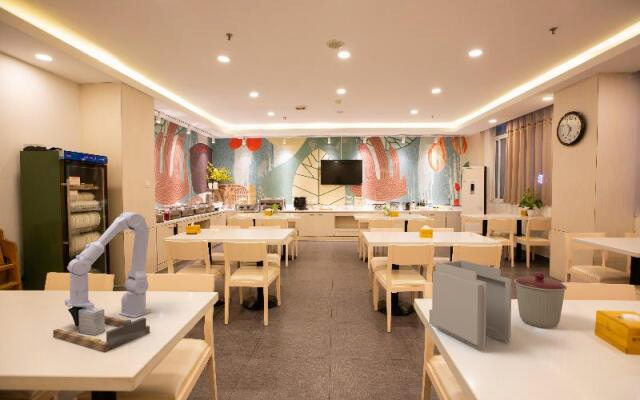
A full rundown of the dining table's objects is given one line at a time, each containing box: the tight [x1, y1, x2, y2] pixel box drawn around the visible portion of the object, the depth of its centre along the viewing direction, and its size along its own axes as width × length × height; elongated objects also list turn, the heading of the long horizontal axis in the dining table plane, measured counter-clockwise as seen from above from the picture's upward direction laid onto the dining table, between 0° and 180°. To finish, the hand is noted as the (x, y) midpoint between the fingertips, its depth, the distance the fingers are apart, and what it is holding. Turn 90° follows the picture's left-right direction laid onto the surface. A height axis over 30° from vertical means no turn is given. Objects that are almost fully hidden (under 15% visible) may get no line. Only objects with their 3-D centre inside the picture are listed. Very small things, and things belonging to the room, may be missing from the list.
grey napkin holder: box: [428, 259, 513, 350], centre depth 125 cm, size 17×27×26 cm, turn 25°
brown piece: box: [52, 315, 151, 353], centre depth 122 cm, size 28×17×7 cm, turn 67°
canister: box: [513, 271, 568, 329], centre depth 136 cm, size 18×18×21 cm
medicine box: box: [78, 306, 106, 336], centre depth 124 cm, size 8×4×9 cm, turn 71°
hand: (79, 325), depth 127 cm, fingers closed
